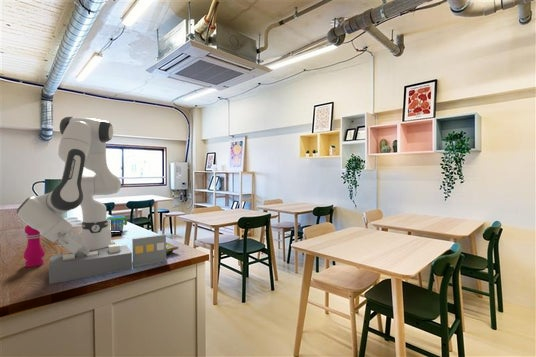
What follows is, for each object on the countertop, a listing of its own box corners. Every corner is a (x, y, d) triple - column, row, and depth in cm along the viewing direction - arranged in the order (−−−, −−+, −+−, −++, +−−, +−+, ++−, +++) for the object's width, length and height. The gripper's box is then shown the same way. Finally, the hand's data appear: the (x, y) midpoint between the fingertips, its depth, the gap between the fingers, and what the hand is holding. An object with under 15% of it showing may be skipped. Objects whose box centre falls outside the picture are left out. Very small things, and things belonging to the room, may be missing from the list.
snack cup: (121, 228, 198) (121, 214, 197) (132, 230, 193) (131, 215, 192) (100, 233, 184) (99, 218, 183) (110, 235, 179) (110, 219, 178)
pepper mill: (32, 262, 129) (30, 218, 128) (48, 261, 129) (47, 218, 128) (19, 267, 121) (17, 221, 121) (37, 267, 122) (35, 221, 121)
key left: (63, 266, 114) (62, 255, 114) (75, 264, 116) (74, 253, 116) (62, 269, 111) (62, 257, 111) (75, 267, 113) (74, 256, 113)
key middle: (86, 263, 119) (86, 252, 118) (97, 261, 121) (97, 251, 121) (87, 265, 115) (86, 255, 115) (98, 264, 117) (98, 253, 117)
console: (51, 272, 116) (51, 255, 116) (127, 260, 132) (126, 245, 132) (49, 284, 104) (48, 265, 104) (132, 268, 120) (131, 252, 120)
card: (132, 264, 126) (131, 237, 126) (164, 258, 134) (164, 233, 134) (134, 267, 122) (133, 240, 122) (167, 261, 130) (166, 235, 129)
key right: (108, 255, 123) (108, 245, 123) (118, 253, 125) (118, 243, 125) (109, 257, 120) (109, 247, 119) (119, 255, 122) (119, 245, 122)
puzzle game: (158, 238, 155) (178, 244, 142) (158, 246, 155) (178, 254, 142) (136, 242, 146) (156, 249, 133) (136, 251, 146) (156, 259, 133)
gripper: (64, 229, 104) (95, 252, 109) (67, 221, 121) (93, 241, 126) (49, 243, 101) (81, 265, 107) (54, 232, 119) (81, 252, 124)
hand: (88, 252), depth 117 cm, fingers closed, pressing on key middle
